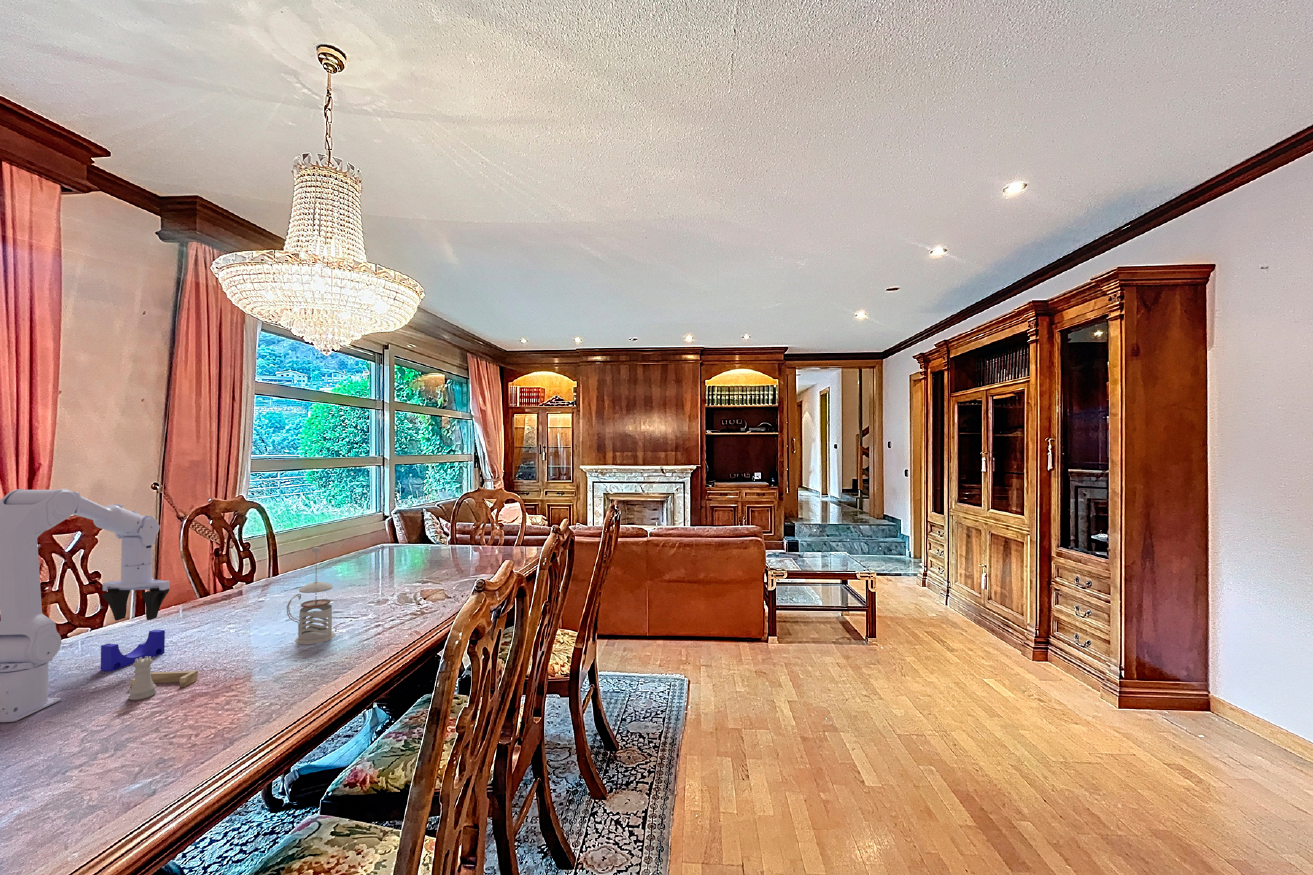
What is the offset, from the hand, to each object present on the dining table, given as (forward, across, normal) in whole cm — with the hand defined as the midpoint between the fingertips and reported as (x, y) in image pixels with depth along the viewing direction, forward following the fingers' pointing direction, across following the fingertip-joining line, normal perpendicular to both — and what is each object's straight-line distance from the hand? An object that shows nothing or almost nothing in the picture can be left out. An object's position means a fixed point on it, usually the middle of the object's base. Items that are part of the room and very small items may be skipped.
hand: (135, 619), depth 139 cm
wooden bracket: (+10, -19, +15) cm, 27 cm away
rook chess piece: (+10, -20, +21) cm, 31 cm away
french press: (+10, -35, -14) cm, 39 cm away
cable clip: (+10, 0, +1) cm, 10 cm away
